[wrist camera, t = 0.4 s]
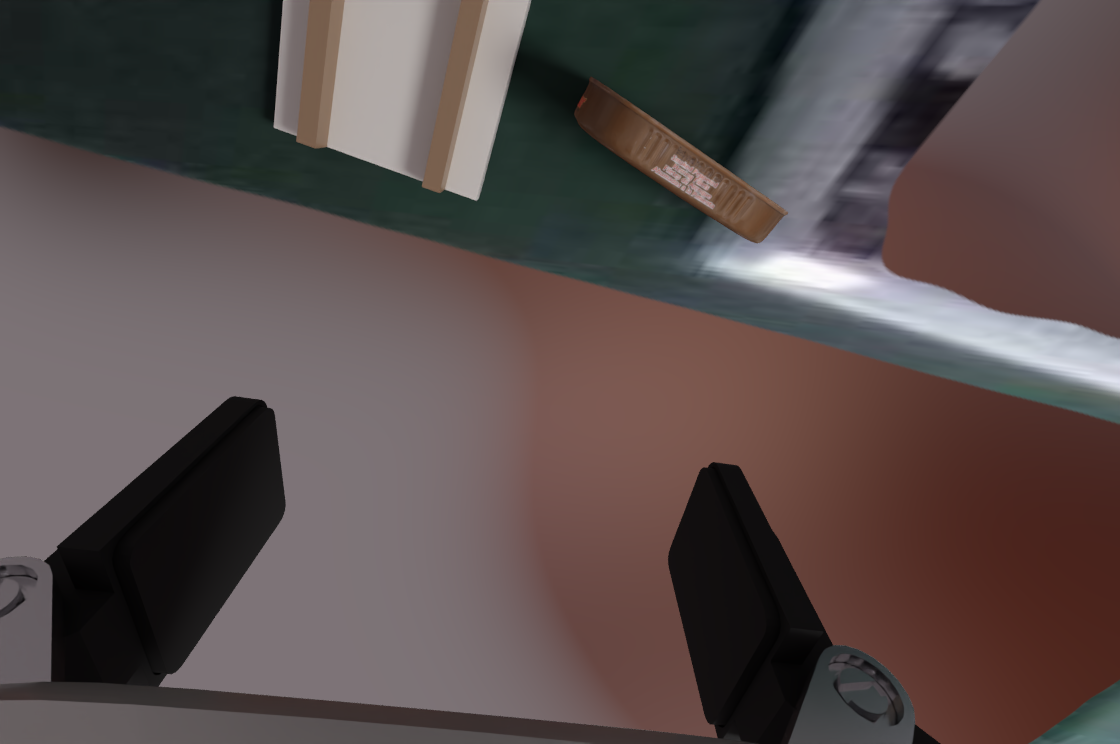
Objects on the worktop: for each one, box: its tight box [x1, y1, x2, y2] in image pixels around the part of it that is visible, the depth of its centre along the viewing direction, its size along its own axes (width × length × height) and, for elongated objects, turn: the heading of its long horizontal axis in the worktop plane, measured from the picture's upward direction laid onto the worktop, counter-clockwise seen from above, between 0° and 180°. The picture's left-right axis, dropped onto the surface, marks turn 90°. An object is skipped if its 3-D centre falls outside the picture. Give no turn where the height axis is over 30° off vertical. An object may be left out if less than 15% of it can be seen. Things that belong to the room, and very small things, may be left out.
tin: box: [574, 77, 788, 243], centre depth 31 cm, size 15×3×8 cm, turn 60°
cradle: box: [274, 0, 531, 201], centre depth 30 cm, size 18×14×3 cm
